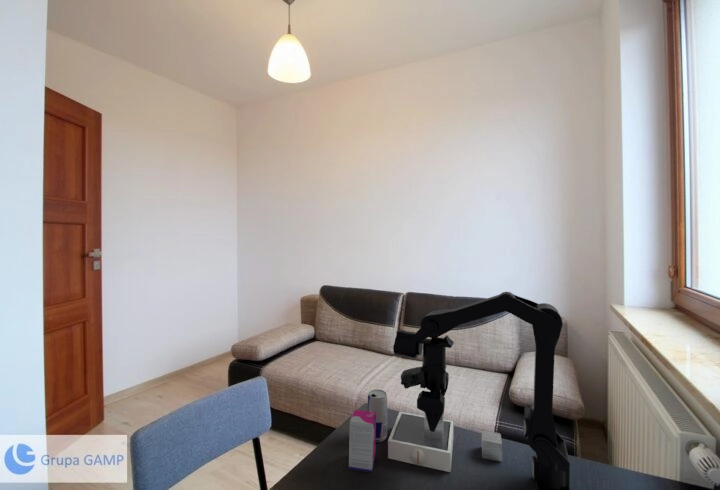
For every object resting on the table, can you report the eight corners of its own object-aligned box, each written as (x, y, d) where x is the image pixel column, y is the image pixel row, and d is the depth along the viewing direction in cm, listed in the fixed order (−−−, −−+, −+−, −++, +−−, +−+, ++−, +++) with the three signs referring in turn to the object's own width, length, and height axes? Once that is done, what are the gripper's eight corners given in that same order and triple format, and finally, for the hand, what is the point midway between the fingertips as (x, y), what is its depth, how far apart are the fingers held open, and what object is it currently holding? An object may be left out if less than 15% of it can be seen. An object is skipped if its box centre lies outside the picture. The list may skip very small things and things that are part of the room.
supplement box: (372, 472, 75) (372, 424, 75) (348, 469, 76) (348, 421, 76) (376, 456, 80) (376, 411, 80) (353, 453, 82) (353, 408, 81)
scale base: (453, 437, 88) (453, 421, 88) (450, 473, 74) (450, 454, 74) (399, 427, 93) (399, 411, 93) (387, 459, 79) (387, 441, 79)
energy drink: (364, 433, 90) (364, 391, 90) (381, 429, 92) (381, 387, 92) (373, 444, 85) (373, 400, 85) (390, 439, 87) (390, 395, 87)
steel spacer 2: (500, 450, 83) (500, 433, 82) (501, 462, 78) (502, 444, 78) (481, 447, 84) (481, 430, 84) (482, 458, 80) (482, 440, 80)
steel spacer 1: (443, 429, 84) (443, 412, 84) (442, 439, 80) (442, 421, 80) (426, 426, 86) (426, 409, 86) (424, 436, 81) (424, 418, 81)
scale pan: (449, 426, 87) (449, 422, 87) (446, 454, 76) (446, 450, 76) (402, 417, 92) (402, 414, 92) (392, 443, 80) (392, 439, 80)
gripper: (409, 346, 94) (409, 399, 94) (395, 371, 76) (395, 435, 77) (448, 350, 90) (448, 405, 91) (443, 377, 73) (443, 445, 73)
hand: (434, 421), depth 83 cm, fingers open, 9 cm apart
